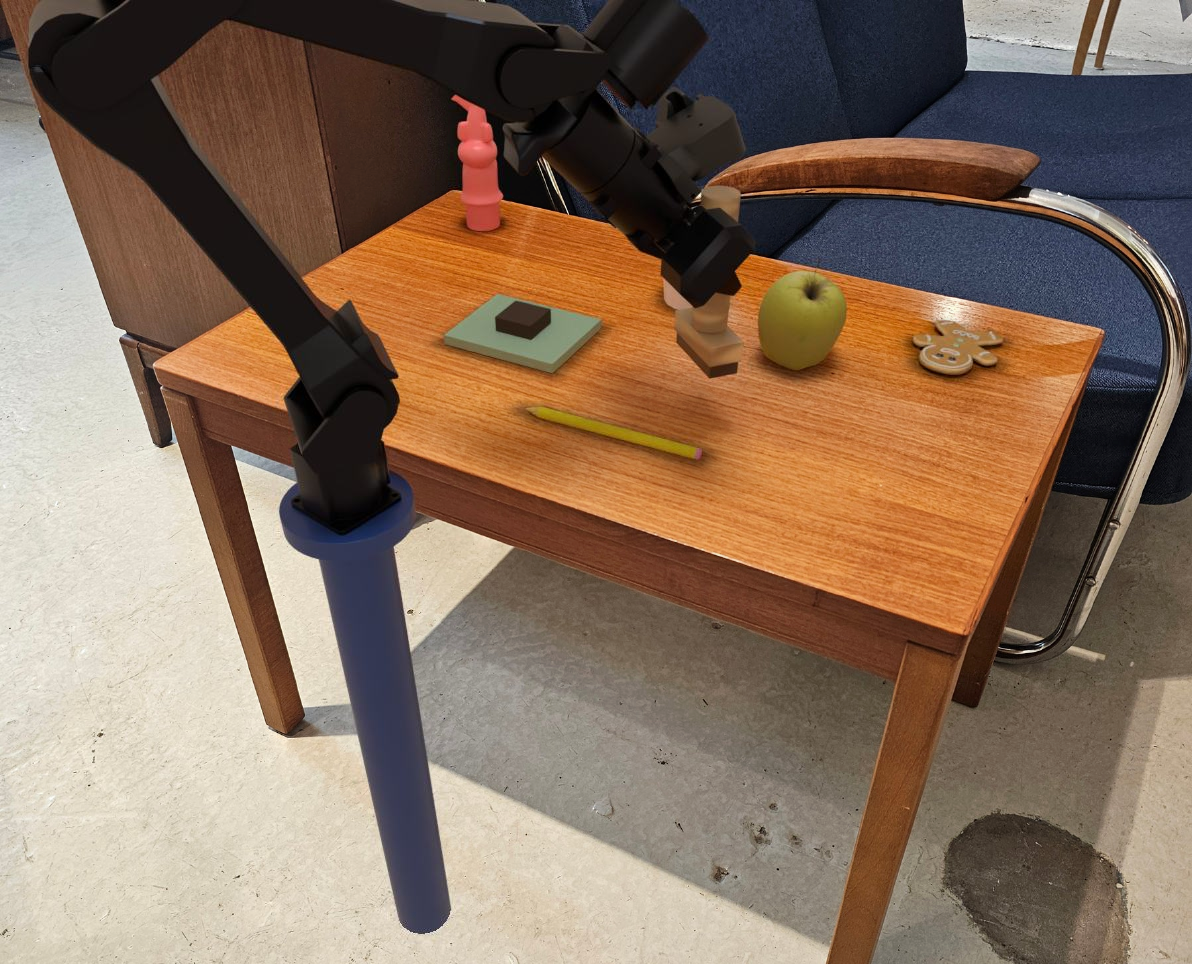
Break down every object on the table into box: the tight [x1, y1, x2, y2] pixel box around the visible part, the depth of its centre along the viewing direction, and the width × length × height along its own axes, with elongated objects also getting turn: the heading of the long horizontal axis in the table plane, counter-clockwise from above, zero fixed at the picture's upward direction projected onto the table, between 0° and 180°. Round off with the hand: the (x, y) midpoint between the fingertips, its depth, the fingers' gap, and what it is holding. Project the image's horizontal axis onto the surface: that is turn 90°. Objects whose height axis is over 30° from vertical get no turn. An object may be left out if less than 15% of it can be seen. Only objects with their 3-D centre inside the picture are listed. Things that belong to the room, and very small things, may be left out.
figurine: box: [451, 94, 504, 232], centre depth 118 cm, size 5×5×15 cm
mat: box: [443, 293, 603, 374], centre depth 103 cm, size 10×12×1 cm
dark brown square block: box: [495, 301, 551, 340], centre depth 102 cm, size 4×4×2 cm
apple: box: [757, 260, 848, 371], centre depth 97 cm, size 8×8×10 cm
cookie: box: [912, 319, 1005, 376], centre depth 101 cm, size 8×1×10 cm
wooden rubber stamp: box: [673, 185, 745, 379], centre depth 85 cm, size 3×7×14 cm, turn 22°
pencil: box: [524, 406, 703, 461], centre depth 90 cm, size 16×1×1 cm, turn 65°
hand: (727, 282), depth 85 cm, fingers closed on wooden rubber stamp, 3 cm apart
